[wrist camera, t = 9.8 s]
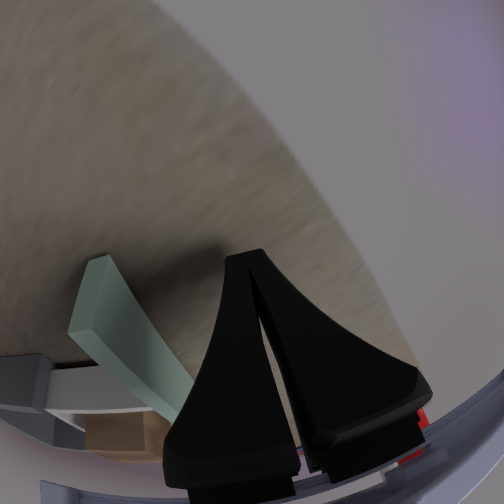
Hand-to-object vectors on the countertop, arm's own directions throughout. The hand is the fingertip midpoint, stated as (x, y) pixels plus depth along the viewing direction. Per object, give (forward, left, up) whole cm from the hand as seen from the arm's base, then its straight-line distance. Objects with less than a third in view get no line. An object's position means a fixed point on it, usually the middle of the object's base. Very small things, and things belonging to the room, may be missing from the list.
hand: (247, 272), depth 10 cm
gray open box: (-10, +18, -1) cm, 21 cm away
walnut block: (-10, +10, 0) cm, 15 cm away
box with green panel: (-7, +10, -1) cm, 12 cm away
